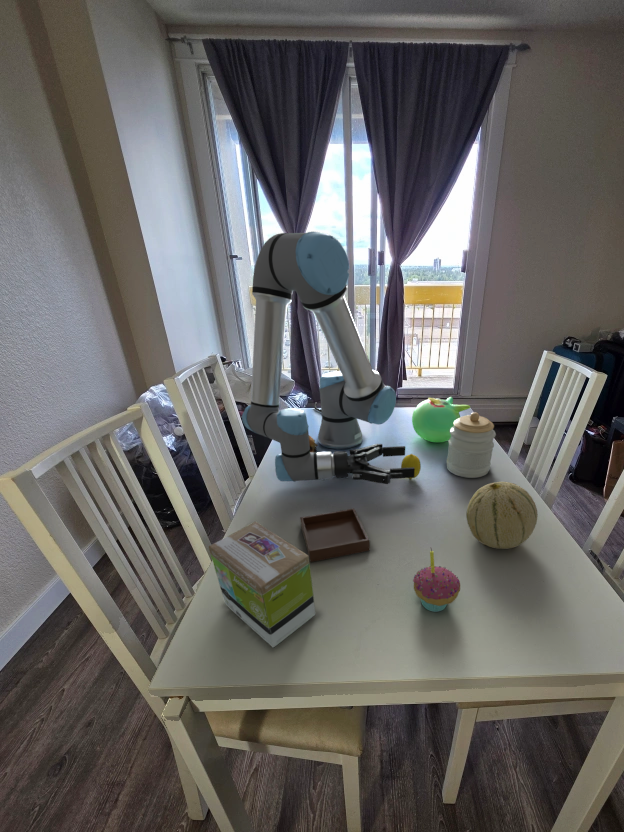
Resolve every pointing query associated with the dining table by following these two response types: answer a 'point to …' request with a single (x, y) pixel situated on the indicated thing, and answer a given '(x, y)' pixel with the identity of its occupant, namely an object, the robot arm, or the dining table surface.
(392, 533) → the dining table surface
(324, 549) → the tray
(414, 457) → the lemon
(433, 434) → the toy bird
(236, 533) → the tea box
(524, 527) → the cantaloupe
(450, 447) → the jar
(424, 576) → the cupcake
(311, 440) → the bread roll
